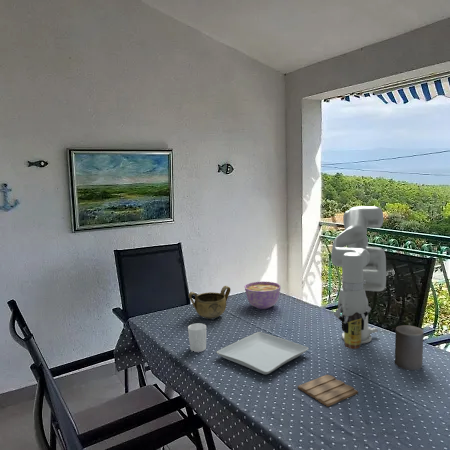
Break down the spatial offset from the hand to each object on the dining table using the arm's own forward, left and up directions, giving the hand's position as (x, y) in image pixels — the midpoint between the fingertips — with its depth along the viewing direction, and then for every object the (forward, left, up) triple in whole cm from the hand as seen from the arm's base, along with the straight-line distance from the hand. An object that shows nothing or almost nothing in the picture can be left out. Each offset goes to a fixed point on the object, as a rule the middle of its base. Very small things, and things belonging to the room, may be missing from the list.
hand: (352, 329), depth 159 cm
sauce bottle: (0, 0, -7) cm, 7 cm away
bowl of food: (+8, -75, -13) cm, 77 cm away
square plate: (+31, -17, -14) cm, 38 cm away
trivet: (+20, +15, -13) cm, 28 cm away
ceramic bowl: (+39, -70, -13) cm, 81 cm away
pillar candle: (-18, +9, -13) cm, 24 cm away
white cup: (+54, -34, -13) cm, 65 cm away
